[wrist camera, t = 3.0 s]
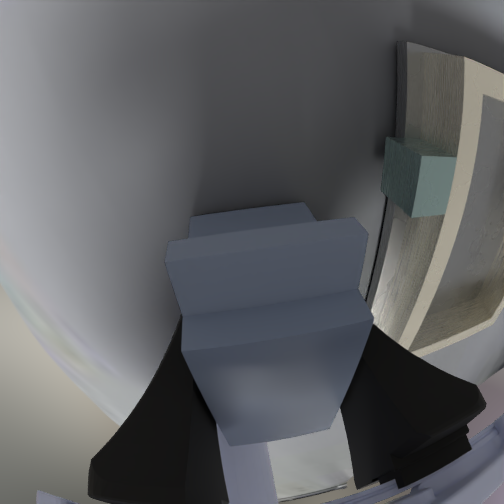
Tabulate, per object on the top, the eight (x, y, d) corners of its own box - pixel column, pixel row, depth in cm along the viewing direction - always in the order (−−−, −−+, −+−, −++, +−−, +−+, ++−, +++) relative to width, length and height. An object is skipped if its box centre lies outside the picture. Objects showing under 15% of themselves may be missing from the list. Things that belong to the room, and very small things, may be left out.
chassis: (478, 299, 16) (497, 323, 14) (343, 342, 15) (358, 379, 13) (536, 96, 7) (570, 111, 5) (377, 37, 7) (426, 35, 5)
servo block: (297, 346, 15) (324, 438, 11) (224, 358, 15) (234, 454, 10) (304, 161, 9) (391, 262, 5) (182, 176, 9) (158, 297, 4)
